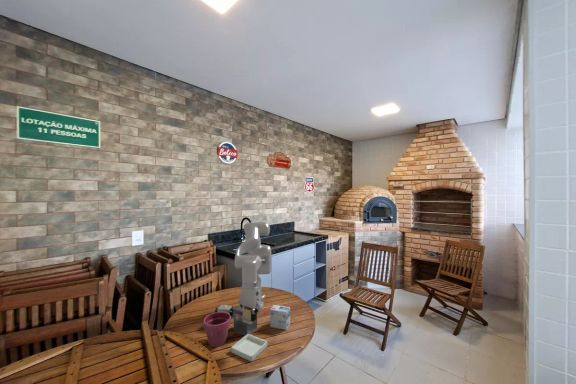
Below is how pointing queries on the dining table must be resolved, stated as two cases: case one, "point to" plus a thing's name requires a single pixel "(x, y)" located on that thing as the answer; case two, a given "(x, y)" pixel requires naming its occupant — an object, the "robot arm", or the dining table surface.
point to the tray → (249, 347)
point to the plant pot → (217, 328)
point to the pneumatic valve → (226, 309)
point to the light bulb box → (280, 317)
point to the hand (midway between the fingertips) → (249, 318)
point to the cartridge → (247, 315)
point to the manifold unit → (242, 323)
